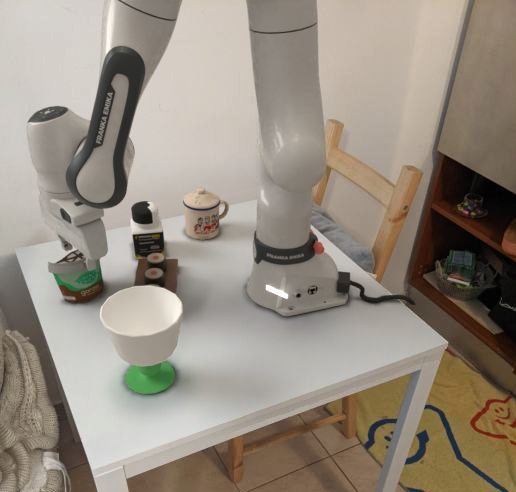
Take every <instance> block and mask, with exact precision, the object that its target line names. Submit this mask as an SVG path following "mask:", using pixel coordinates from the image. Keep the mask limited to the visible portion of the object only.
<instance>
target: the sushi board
mask: <svg viewBox="0 0 516 492" xmlns="http://www.w3.org/2000/svg"><path fill="white" fill-rule="evenodd" d="M178 273H179V259H178V258H167V256H166V254H165V255H164V254H161V253H152V254H149V255H148V256H147V257H146V258H142V259H137V266H136V271H135V277H134V282H133V287H134V286H155V287H161V288H165V289H167V290H169V291H170V292H172V293H174V294H176V295H177V283H178V282H177V281H178Z"/></svg>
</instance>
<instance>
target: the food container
mask: <svg viewBox="0 0 516 492" xmlns="http://www.w3.org/2000/svg"><path fill="white" fill-rule="evenodd" d="M85 260H86V257H85V256H84V255H83V254H82V253H81V252H80V251H79V250H77V249H76V250H75V249H74V250H73V251H71V252H69V253H68V254H67V255H65V256H64V257H62V258H61V259H59V260H58V261H56V262H50V261H47V264H48V265H47V271H48V273H51V274H52V275H53V277H54V280H55V282H56V284H57V286H58V288H59V291H60V293H61V295H62V297H63V299H64V302H67V303H71V304H79V303H80V304H81V303H85V302H89V301H92V300H94V299H96V298H98V297H100V296H101V295H102V294H103V293H104V290H105V285H104V277H103V273H102V266H101V261H100V260H101V258H99V259H97V260H96V261H95V263H96V269H94V270H91V271H89V270H88V269H87V268H85V264H84V261H85Z"/></svg>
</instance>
